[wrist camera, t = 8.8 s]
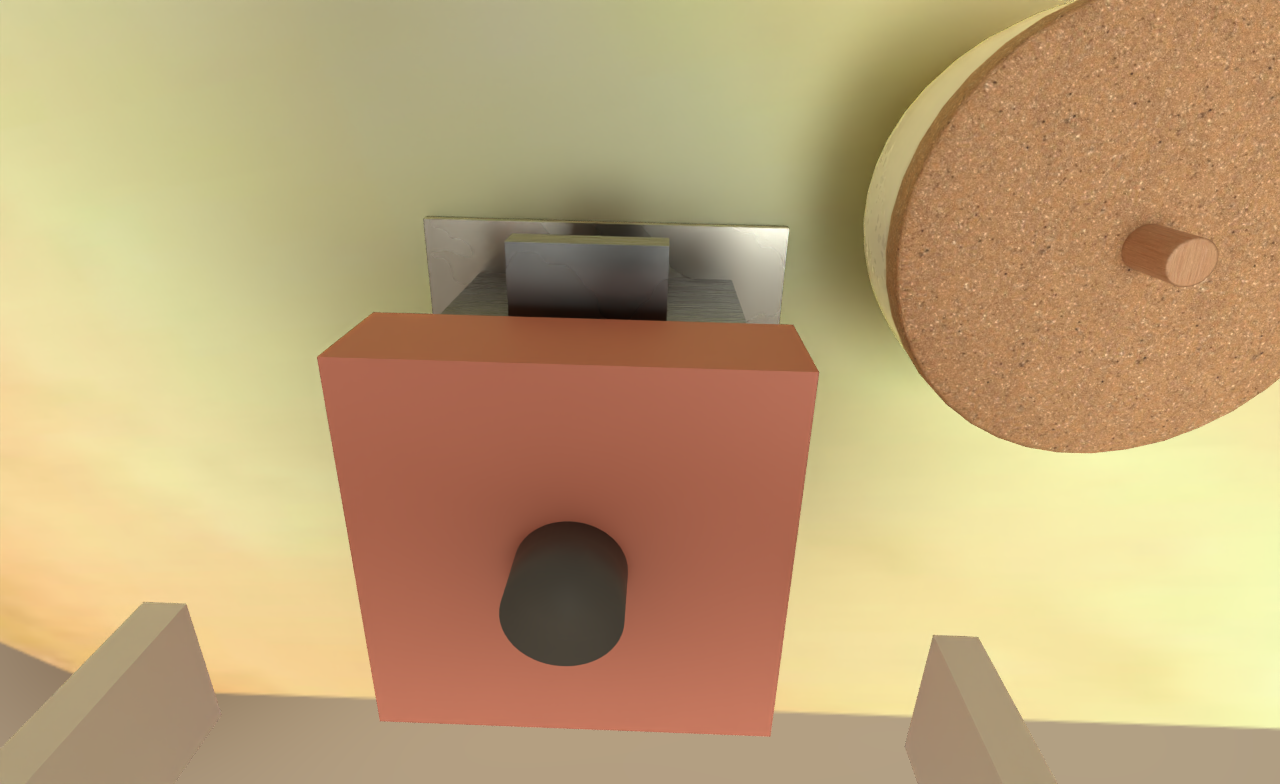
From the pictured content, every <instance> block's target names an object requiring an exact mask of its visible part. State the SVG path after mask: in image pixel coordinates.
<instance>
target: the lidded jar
mask: <svg viewBox="0 0 1280 784" xmlns="http://www.w3.org/2000/svg"><path fill="white" fill-rule="evenodd" d="M864 251H865V258H866V263H867V269H868V274H869V279H870V283H871V286H872V289H873V291H874V294H875V297H876V299H877V302H878V305H879V307H880V309H881V311H882V314H883V316H884V318H885V320H886V321H887V323H888V325H889V326H890V328H891V330H892V332H893V333H894V335H895V337H896V338H897V340H898V341H899V343H900V344H901V345H902V347H903V348H904V349H905V351H906V352H907V354H908V355H909V357H910V359H911V360H912V362H913V364H914V365H915V367H916V369H917V371H918V372H919V374H920V375H921V376H922V377H923V378H924V380H925V381H926V382H927V383H928V384H929V385H930V386H931V387H932V389H933V390H934V391H935V392H936V393H937V394H938V395H939V397H940V398H941V399H942V400H943V401H944V402H945V403H946V404H947V405H948V406H949V407H951V408H952V409H953V410H954V411H956V412H957V413H958V414H960V415H961V416H962V417H963V418H965V419H966V420H967V421H968V422H970V423H971V424H973V425H975V426H977V427H979V428H981V429H983V430H985V431H986V432H988V433H990V434H992V435H994V436H996V437H998V438H1001V439H1004V440H1007V441H1010V442H1013V443H1016V444H1019V445H1022V446H1025V447H1030V448H1036V449H1042V450H1047V451H1053V452H1067V453H1097V452H1106V451H1115V450H1124V449H1129V448H1134V447H1138V446H1143V445H1147V444H1152V443H1156V442H1161V441H1165V440H1167V439H1170V438H1173V437H1175V436H1178V435H1180V434H1183V433H1186V432H1188V431H1191V430H1194V429H1196V428H1199V427H1201V426H1203V425H1205V424H1207V423H1209V422H1211V421H1213V420H1215V419H1217V418H1220V417H1222V416H1224V415H1226V414H1228V413H1230V412H1232V411H1234V410H1235V409H1237V408H1238V407H1240V406H1241V405H1243V404H1244V403H1246V402H1247V401H1249V400H1250V399H1252V398H1253V397H1255V396H1256V395H1258V394H1259V393H1261V392H1262V391H1264V390H1265V389H1267V388H1268V387H1269V386H1271V385H1272V384H1273V383H1274V382H1276V381H1277V380H1278V379H1279V378H1280V0H1076V1H1073V2H1070V3H1067V4H1064V5H1061V6H1058V7H1055V8H1052V9H1049V10H1046V11H1042V12H1039V13H1037V14H1035V15H1033V16H1031V17H1029V18H1027V19H1025V20H1023V21H1021V22H1019V23H1017V24H1015V25H1013V26H1011V27H1009V28H1007V29H1005V30H1003V31H1001V32H999V33H997V34H995V35H992V36H990V37H988V38H987V39H986V40H984V41H983V42H981V43H980V44H978V45H977V46H975V47H974V48H972V49H971V50H969V51H968V52H967V53H965V54H964V55H962V56H961V57H959V58H958V59H957V60H956V61H954V62H953V63H952V64H951V65H950V66H949V67H948V68H946V69H945V70H944V71H943V72H942V73H941V74H940V75H939V76H938V77H937V78H935V79H934V80H933V81H932V82H931V83H930V84H929V85H928V86H927V87H926V88H925V89H924V90H923V91H922V92H921V93H920V95H919V96H918V97H917V98H916V99H915V101H914V102H913V103H912V104H911V105H910V106H909V108H908V109H907V110H906V111H905V112H904V114H903V116H902V117H901V119H900V120H899V122H898V124H897V125H896V127H895V128H894V130H893V131H892V133H891V135H890V136H889V138H888V140H887V142H886V144H885V146H884V148H883V151H882V153H881V155H880V157H879V159H878V161H877V164H876V166H875V169H874V173H873V176H872V179H871V183H870V186H869V190H868V193H867V200H866V207H865V214H864Z"/></svg>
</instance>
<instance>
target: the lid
mask: <svg viewBox="0 0 1280 784" xmlns="http://www.w3.org/2000/svg"><path fill="white" fill-rule="evenodd" d="M317 360H318V365H319V371H320V377H321V383H322V388H323V394H324V400H325V406H326V412H327V417H328V423H329V429H330V435H331V440H332V446H333V452H334V458H335V464H336V469H337V475H338V481H339V487H340V493H341V498H342V504H343V510H344V516H345V521H346V527H347V533H348V539H349V545H350V550H351V556H352V562H353V568H354V573H355V579H356V585H357V591H358V597H359V602H360V608H361V614H362V620H363V625H364V631H365V637H366V643H367V649H368V654H369V660H370V666H371V672H372V677H373V683H374V689H375V695H376V701H377V706H378V712H379V718H380V721H391V722H415V723H416V722H418V723H440V724H466V725H491V726H494V725H495V726H517V727H543V728H567V729H568V728H569V729H594V730H618V731H645V732H669V733H694V734H696V733H697V734H720V735H745V736H770V735H771V726H772V720H773V713H774V705H775V698H776V690H777V683H778V675H779V668H780V660H781V653H782V645H783V638H784V630H785V623H786V615H787V608H788V601H789V593H790V586H791V578H792V571H793V563H794V556H795V548H796V541H797V533H798V526H799V518H800V511H801V503H802V496H803V489H804V481H805V474H806V466H807V459H808V451H809V444H810V436H811V429H812V421H813V414H814V406H815V399H816V391H817V384H818V376H819V371H818V369H817V368H816V366H815V364H814V362H813V360H812V359H811V357H810V355H809V353H808V351H807V349H806V348H805V346H804V344H803V342H802V340H801V338H800V337H799V335H798V333H797V331H796V329H795V327H794V326H793V325H784V324H750V323H717V322H683V321H649V320H616V319H582V318H549V317H515V316H481V315H448V314H414V313H380V312H373V313H372V314H370V315H369V316H368V317H367V318H365V319H364V320H363V321H362V322H360V323H359V324H358V325H357V326H355V327H354V328H353V329H352V330H350V331H349V332H348V333H347V334H345V335H344V336H343V337H341V338H340V339H339V340H338V341H336V342H335V343H334V344H333V345H331V346H330V347H329V348H328V349H326V350H325V351H324V352H323V353H321V354H320V355H319V356H317Z"/></svg>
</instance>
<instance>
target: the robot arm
mask: <svg viewBox="0 0 1280 784" xmlns="http://www.w3.org/2000/svg"><path fill="white" fill-rule="evenodd" d="M220 717H221V712H220V708H219V705H218V702H217V699H216V696H215V693H214V689H213V686H212V683H211V680H210V677H209V674H208V671H207V668H206V664H205V661H204V658H203V655H202V652H201V649H200V646H199V642H198V639H197V636H196V633H195V630H194V627H193V624H192V621H191V617H190V614H189V611H188V608H187V605H186V604H179V603H155V602H143V603H142V604H141V605H140V606H139V607H138V608H137V609H136V610H135V611H134V612H133V613H132V614H131V615H130V617H129V618H128V619H127V620H126V621H125V622H124V623H123V624H122V625H121V626H120V627H119V628H118V629H117V630H116V631H115V632H114V633H113V634H112V635H111V636H110V637H109V638H108V639H107V640H106V641H105V642H104V643H103V644H102V645H101V646H100V647H99V648H98V649H97V650H96V651H95V652H94V653H93V654H92V655H91V656H90V657H89V658H88V659H87V660H86V662H85V663H84V664H83V665H82V666H81V667H80V668H79V669H78V670H77V671H76V672H75V673H74V674H73V675H72V676H71V677H70V678H69V679H68V680H67V681H66V682H65V683H64V684H63V685H62V686H61V687H60V688H59V689H58V690H57V691H56V692H55V693H54V694H53V695H52V696H51V697H50V698H49V700H47V701H46V703H44V705H42V707H41V708H40V709H39V710H38V711H37V712H36V713H35V714H34V715H33V716H32V717H31V718H30V719H29V720H28V721H27V722H26V723H25V724H24V725H23V726H22V727H21V728H20V729H19V730H18V731H17V732H16V733H15V734H14V735H13V736H12V737H11V738H10V739H9V740H8V741H7V742H6V743H5V744H4V745H3V746H2V747H1V748H0V784H174V783H175V782H176V780H177V779H178V778H179V776H180V775H181V773H182V772H183V770H184V769H185V767H186V766H187V765H188V763H189V762H190V760H191V759H192V757H193V756H194V754H195V753H196V752H197V750H198V748H199V747H200V746H201V744H202V743H203V741H204V740H205V738H206V737H207V736H208V734H209V733H210V731H211V730H212V728H213V727H214V725H215V724H216V722H217V721H218V719H219V718H220ZM905 748H906V751H907V754H908V757H909V760H910V763H911V766H912V769H913V771H914V774H915V777H916V780H917V783H918V784H1058V783H1057V782H1056V780H1055V778H1054V776H1053V774H1052V772H1051V770H1050V769H1049V767H1048V765H1047V763H1046V761H1045V759H1044V757H1043V755H1042V754H1041V752H1040V750H1039V748H1038V746H1037V744H1036V743H1035V741H1034V739H1033V737H1032V735H1031V733H1030V732H1029V730H1028V728H1027V726H1026V724H1025V722H1024V721H1023V719H1022V717H1021V715H1020V713H1019V711H1018V710H1017V708H1016V706H1015V704H1014V702H1013V700H1012V699H1011V697H1010V695H1009V693H1008V691H1007V689H1006V687H1005V686H1004V684H1003V682H1002V680H1001V678H1000V676H999V675H998V673H997V671H996V669H995V667H994V665H993V664H992V662H991V660H990V658H989V656H988V654H987V653H986V651H985V649H984V647H983V645H982V643H981V642H980V640H979V638H978V637H967V636H943V635H933V638H932V642H931V646H930V650H929V654H928V657H927V661H926V665H925V669H924V673H923V677H922V681H921V685H920V688H919V692H918V696H917V700H916V704H915V708H914V712H913V716H912V720H911V723H910V728H909V731H908V735H907V739H906V743H905Z"/></svg>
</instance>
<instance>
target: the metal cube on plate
mask: <svg viewBox="0 0 1280 784" xmlns="http://www.w3.org/2000/svg"><path fill="white" fill-rule="evenodd" d="M423 220H424V230H425V240H426V250H427V260H428V270H429V280H430V290H431V300H432V310H433V314H448V315H481V316H515V317H549V318H582V319H616V320H649V321H683V322H717V323H750V324H779V321H780V312H781V302H782V293H783V283H784V274H785V265H786V255H787V246H788V236H789V228H788V227H787V226H753V225H716V224H680V223H643V222H607V221H570V220H533V219H497V218H460V217H425V218H424V219H423Z"/></svg>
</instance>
